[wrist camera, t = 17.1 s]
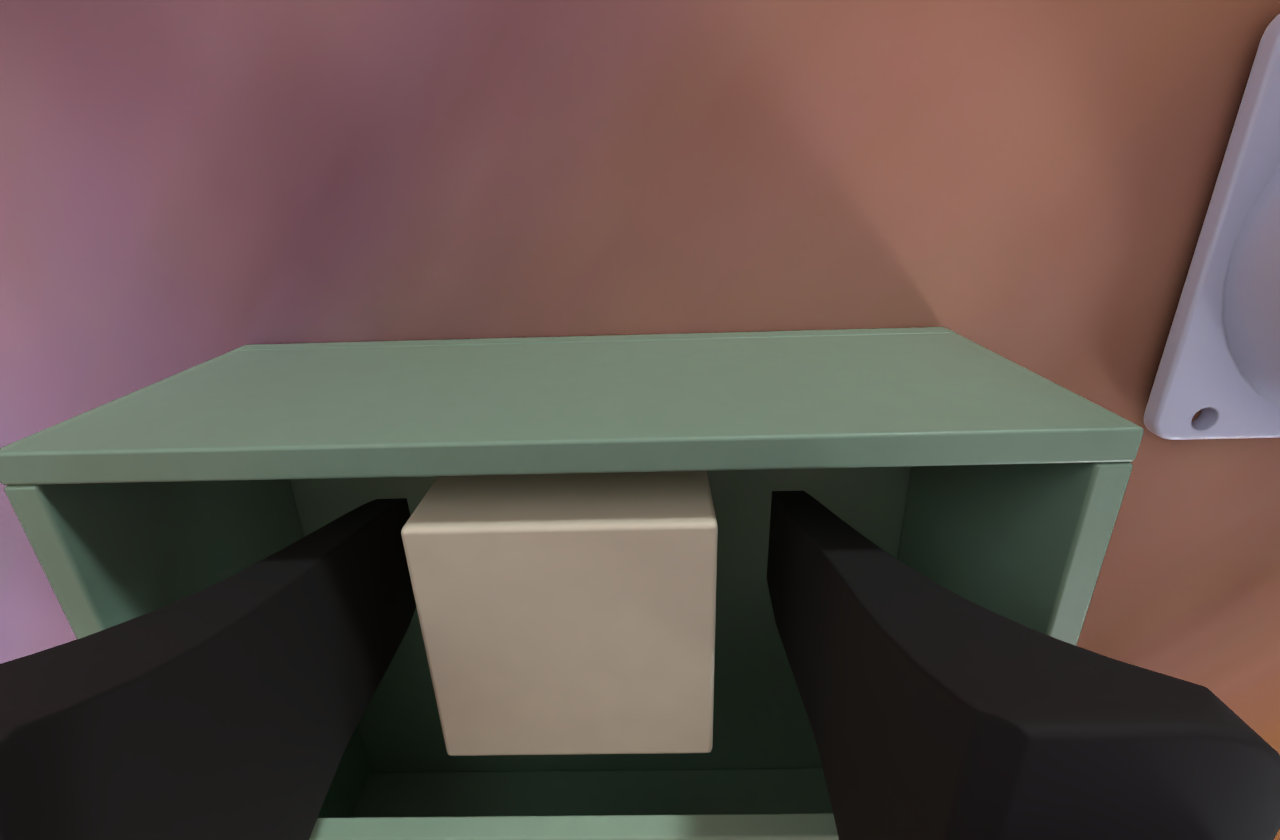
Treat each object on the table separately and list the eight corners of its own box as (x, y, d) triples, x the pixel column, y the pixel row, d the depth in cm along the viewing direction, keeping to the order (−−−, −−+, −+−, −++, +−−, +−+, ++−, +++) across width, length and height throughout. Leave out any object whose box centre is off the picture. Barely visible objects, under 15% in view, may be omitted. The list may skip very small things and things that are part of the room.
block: (692, 397, 13) (718, 523, 8) (691, 569, 14) (713, 754, 10) (487, 402, 13) (397, 530, 8) (510, 572, 14) (446, 758, 10)
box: (945, 326, 13) (1147, 427, 8) (872, 763, 18) (965, 1003, 12) (244, 344, 13) (-17, 453, 8) (365, 768, 18) (253, 1004, 13)
